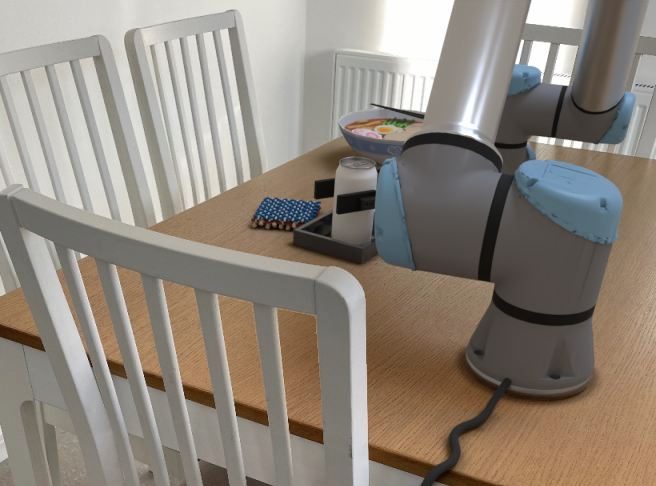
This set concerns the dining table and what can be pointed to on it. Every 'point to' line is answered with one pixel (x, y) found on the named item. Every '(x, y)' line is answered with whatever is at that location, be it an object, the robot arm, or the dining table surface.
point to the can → (350, 179)
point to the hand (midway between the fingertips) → (326, 197)
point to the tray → (331, 240)
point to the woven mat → (285, 212)
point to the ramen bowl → (380, 131)
